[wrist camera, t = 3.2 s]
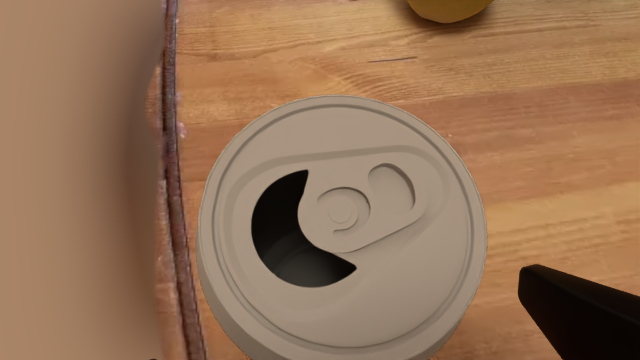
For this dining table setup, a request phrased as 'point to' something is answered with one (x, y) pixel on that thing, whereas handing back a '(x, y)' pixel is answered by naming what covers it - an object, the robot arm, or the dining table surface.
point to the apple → (447, 9)
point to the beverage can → (340, 234)
